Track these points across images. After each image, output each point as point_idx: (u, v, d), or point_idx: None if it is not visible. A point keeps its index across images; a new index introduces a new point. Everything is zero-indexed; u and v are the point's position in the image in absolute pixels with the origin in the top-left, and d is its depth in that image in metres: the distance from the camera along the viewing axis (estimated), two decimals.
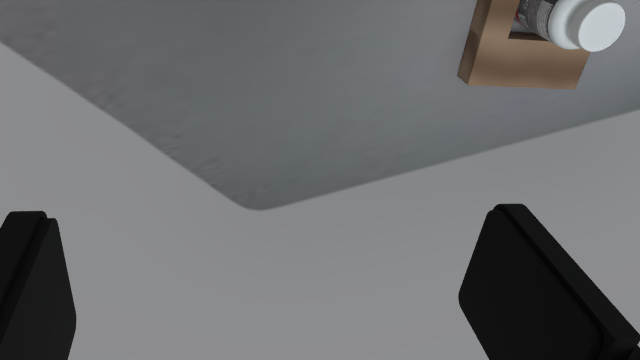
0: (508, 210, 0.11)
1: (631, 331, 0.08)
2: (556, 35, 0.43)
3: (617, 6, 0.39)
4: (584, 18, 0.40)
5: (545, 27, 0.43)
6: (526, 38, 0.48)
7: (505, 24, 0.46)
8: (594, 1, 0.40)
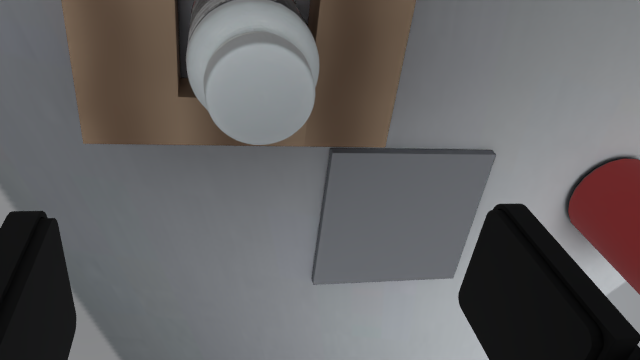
0: (508, 210, 0.11)
1: (631, 331, 0.08)
2: (218, 20, 0.19)
3: (307, 113, 0.19)
4: (282, 47, 0.17)
5: (227, 0, 0.19)
6: (175, 5, 0.23)
7: None
8: (309, 66, 0.19)
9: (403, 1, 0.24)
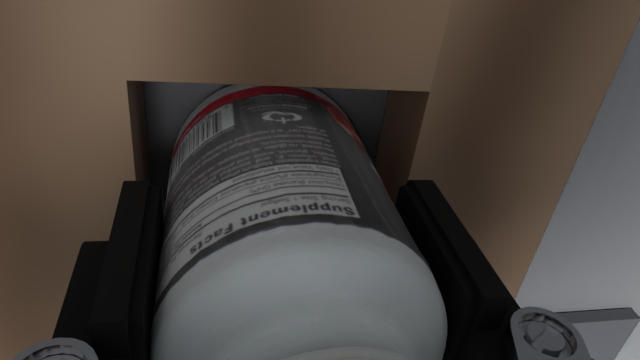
0: (416, 185, 0.11)
1: (503, 292, 0.09)
2: (225, 296, 0.07)
3: None
4: None
5: (246, 222, 0.08)
6: (137, 163, 0.12)
7: (191, 50, 0.10)
8: None
9: (564, 140, 0.13)
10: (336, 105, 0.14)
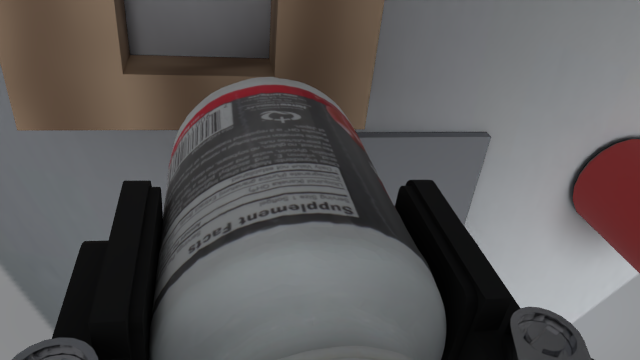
0: (416, 185, 0.11)
1: (503, 291, 0.09)
2: (223, 295, 0.07)
3: None
4: None
5: (244, 222, 0.08)
6: None
7: None
8: None
9: None
10: (335, 104, 0.13)
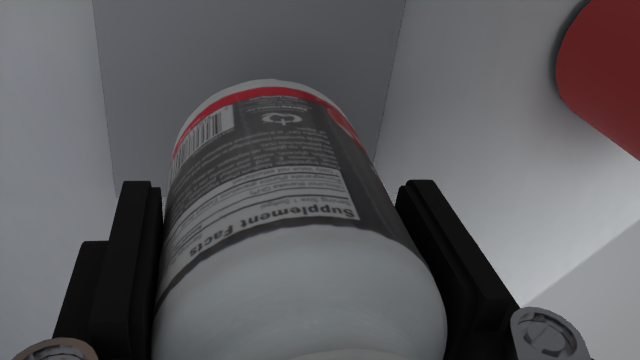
0: (416, 185, 0.11)
1: (503, 292, 0.09)
2: (226, 299, 0.07)
3: None
4: None
5: (246, 225, 0.08)
6: None
7: None
8: None
9: None
10: (336, 106, 0.14)
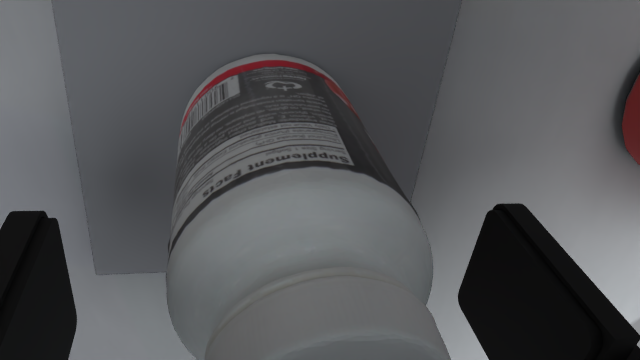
0: (508, 210, 0.11)
1: (630, 331, 0.08)
2: (235, 227, 0.08)
3: None
4: (399, 335, 0.07)
5: (253, 168, 0.09)
6: None
7: None
8: None
9: None
10: (333, 80, 0.15)
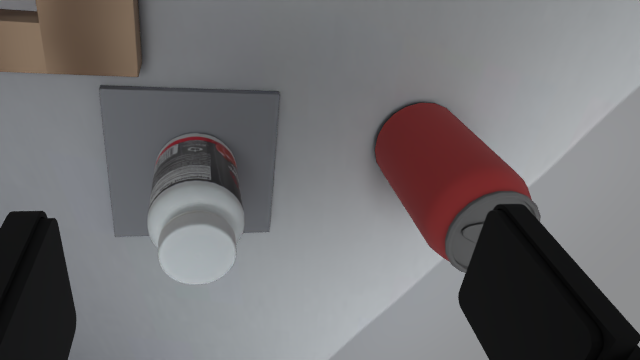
0: (508, 210, 0.11)
1: (631, 330, 0.08)
2: (168, 199, 0.27)
3: (231, 263, 0.27)
4: (210, 226, 0.26)
5: (176, 181, 0.28)
6: None
7: None
8: (232, 231, 0.27)
9: None
10: (222, 143, 0.33)
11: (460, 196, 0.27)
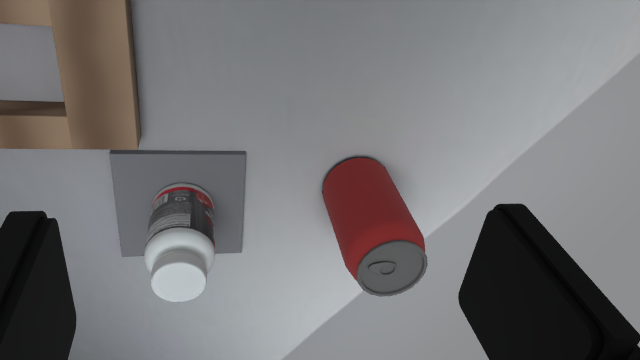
0: (508, 210, 0.11)
1: (630, 331, 0.08)
2: (159, 242, 0.38)
3: (203, 287, 0.38)
4: (187, 263, 0.36)
5: (164, 227, 0.39)
6: None
7: None
8: (203, 265, 0.38)
9: (119, 47, 0.35)
10: (202, 191, 0.44)
11: (367, 243, 0.38)
